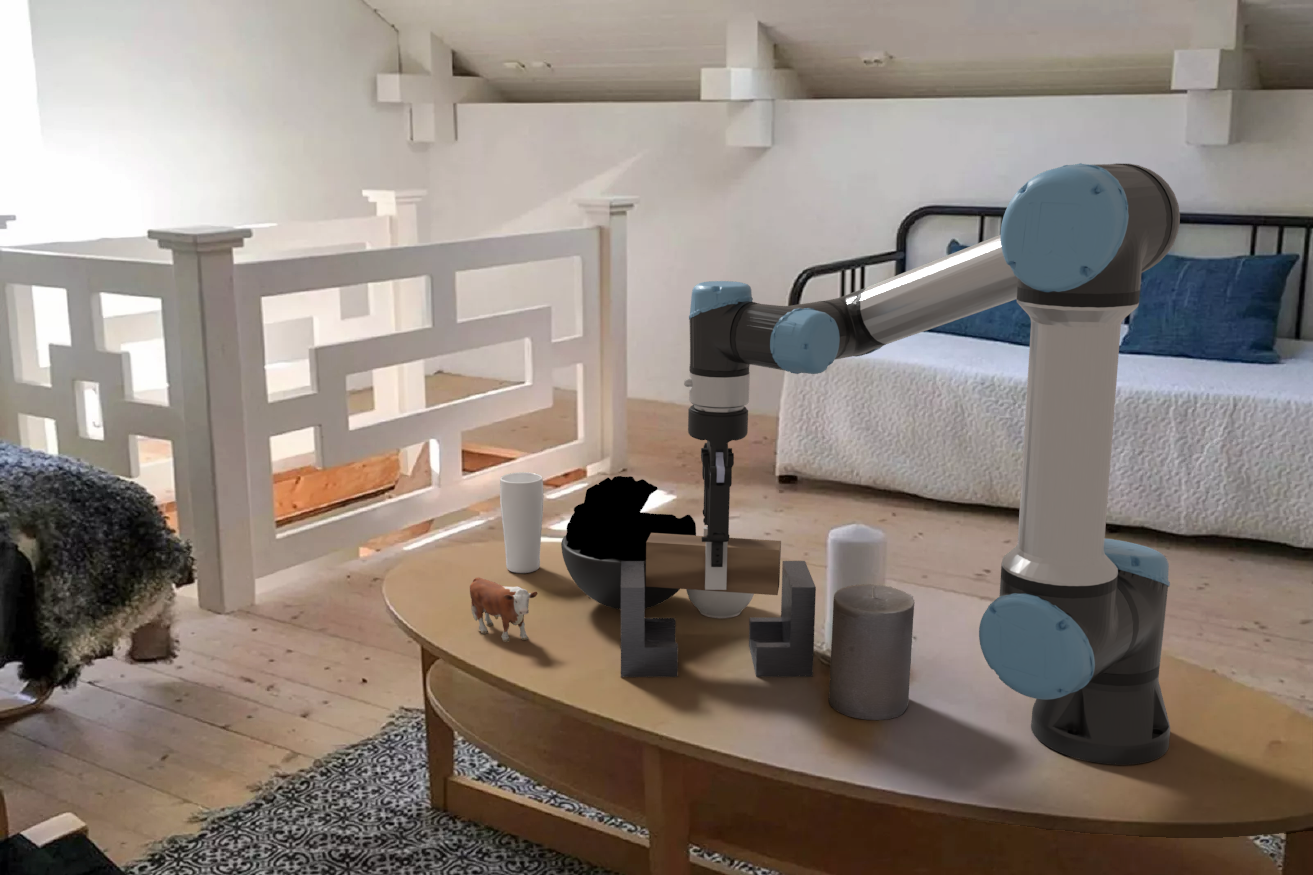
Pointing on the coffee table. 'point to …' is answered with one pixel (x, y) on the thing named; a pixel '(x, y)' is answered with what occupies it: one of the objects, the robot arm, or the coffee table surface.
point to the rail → (684, 564)
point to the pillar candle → (871, 651)
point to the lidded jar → (719, 602)
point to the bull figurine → (499, 605)
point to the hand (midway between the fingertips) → (714, 581)
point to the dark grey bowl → (616, 538)
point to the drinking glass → (522, 520)
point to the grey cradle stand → (771, 640)
